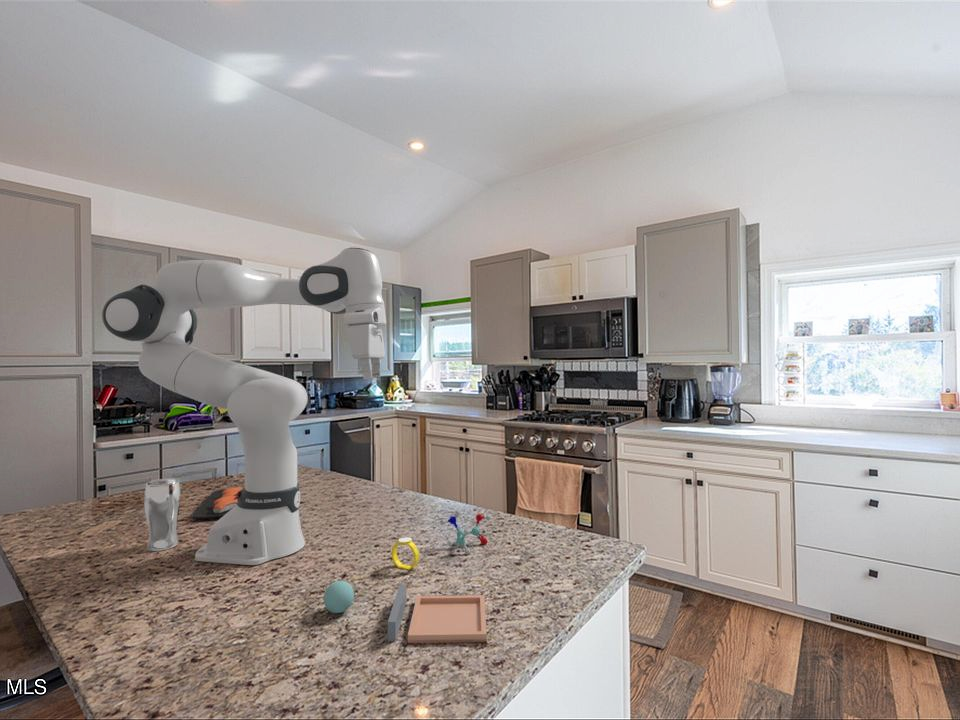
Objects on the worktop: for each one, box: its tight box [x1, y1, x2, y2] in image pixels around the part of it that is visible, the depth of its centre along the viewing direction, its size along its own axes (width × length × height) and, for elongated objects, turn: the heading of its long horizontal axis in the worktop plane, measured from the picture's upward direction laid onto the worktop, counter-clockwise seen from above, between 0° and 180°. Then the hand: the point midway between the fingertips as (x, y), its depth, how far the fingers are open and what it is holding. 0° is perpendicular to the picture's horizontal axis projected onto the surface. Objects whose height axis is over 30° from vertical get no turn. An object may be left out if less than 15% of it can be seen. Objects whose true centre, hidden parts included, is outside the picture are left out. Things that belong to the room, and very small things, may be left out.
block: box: [387, 584, 407, 643], centre depth 79 cm, size 1×12×3 cm, turn 1°
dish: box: [407, 594, 488, 644], centre depth 78 cm, size 12×12×1 cm
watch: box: [391, 536, 420, 571], centre depth 99 cm, size 6×3×6 cm, turn 65°
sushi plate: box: [191, 486, 305, 519], centre depth 145 cm, size 29×30×4 cm
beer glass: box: [143, 477, 181, 552], centre depth 110 cm, size 7×7×15 cm
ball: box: [323, 580, 355, 614], centre depth 81 cm, size 5×5×5 cm
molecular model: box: [439, 509, 492, 555], centre depth 110 cm, size 12×10×10 cm
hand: (372, 378), depth 109 cm, fingers open, 8 cm apart
